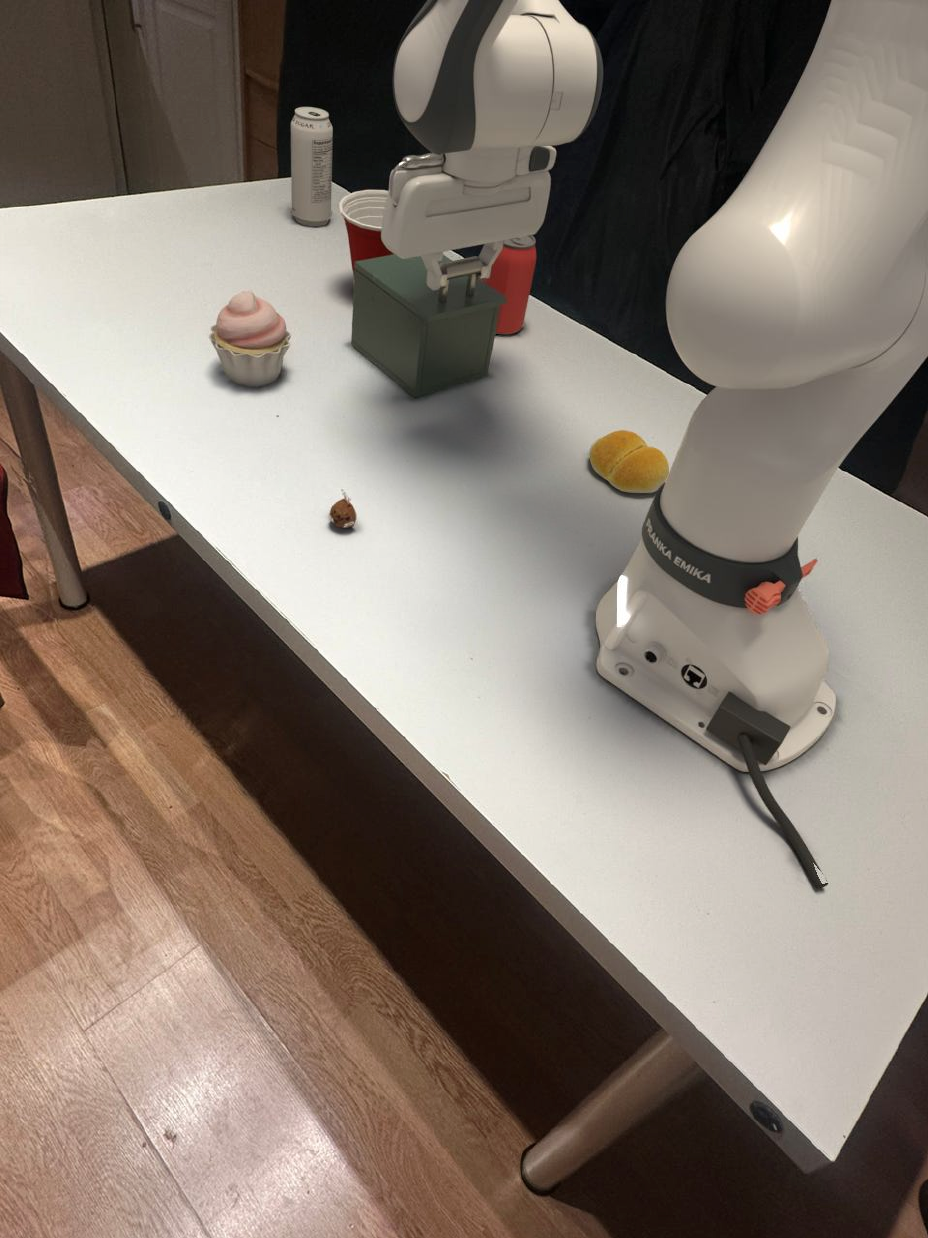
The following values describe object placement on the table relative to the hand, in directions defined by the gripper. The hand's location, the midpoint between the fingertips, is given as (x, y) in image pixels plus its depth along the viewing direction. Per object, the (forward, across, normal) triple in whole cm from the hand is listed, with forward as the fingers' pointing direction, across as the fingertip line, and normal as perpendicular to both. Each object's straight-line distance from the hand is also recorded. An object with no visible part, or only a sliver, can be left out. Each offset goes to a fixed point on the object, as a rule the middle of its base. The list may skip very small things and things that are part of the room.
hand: (458, 282), depth 93 cm
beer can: (+13, +16, +8) cm, 22 cm away
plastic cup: (+13, +5, +22) cm, 26 cm away
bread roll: (+13, +7, -25) cm, 29 cm away
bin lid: (+3, 0, +5) cm, 6 cm away
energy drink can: (+13, +10, +47) cm, 50 cm away
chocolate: (+13, -26, -17) cm, 33 cm away
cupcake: (+13, -20, +11) cm, 26 cm away
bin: (+12, 0, +5) cm, 13 cm away
